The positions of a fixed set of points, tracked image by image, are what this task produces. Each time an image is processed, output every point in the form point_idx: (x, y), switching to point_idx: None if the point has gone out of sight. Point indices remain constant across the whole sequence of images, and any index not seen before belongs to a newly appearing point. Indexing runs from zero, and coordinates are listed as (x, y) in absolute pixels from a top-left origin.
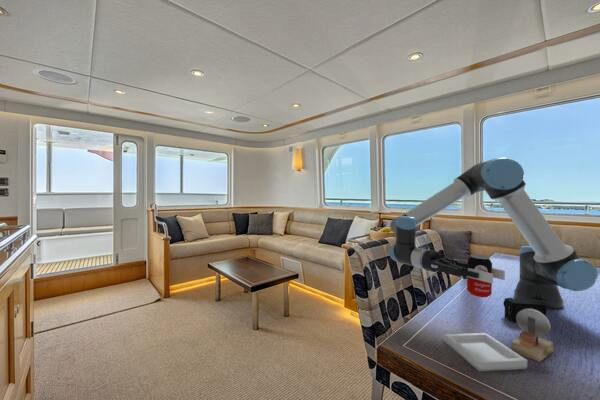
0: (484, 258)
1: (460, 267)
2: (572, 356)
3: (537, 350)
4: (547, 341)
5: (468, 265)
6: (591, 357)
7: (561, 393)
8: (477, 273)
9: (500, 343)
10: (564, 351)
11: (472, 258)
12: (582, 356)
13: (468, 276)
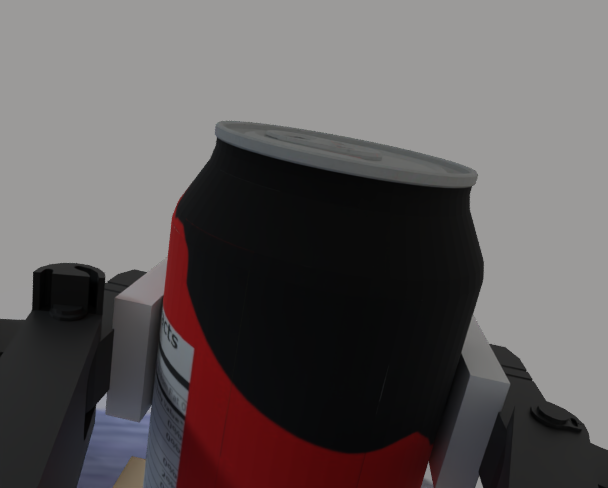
0: (409, 151)
1: (575, 469)
2: (132, 448)
3: None
4: (142, 471)
5: (445, 354)
6: (96, 413)
7: (423, 480)
8: (495, 346)
9: None
10: (102, 463)
11: (469, 204)
12: (108, 429)
13: (471, 482)
